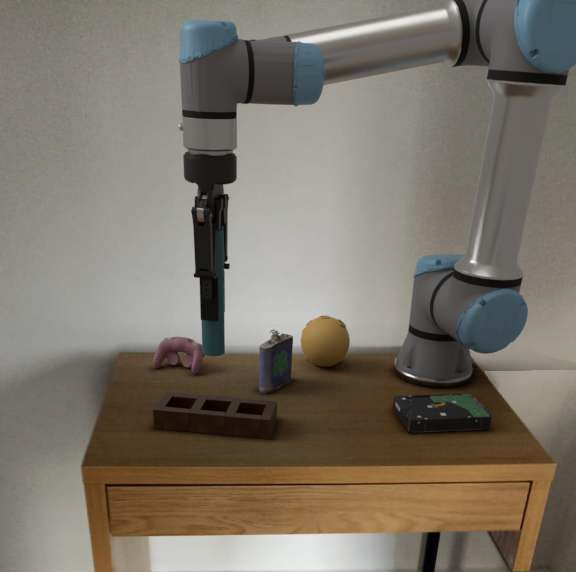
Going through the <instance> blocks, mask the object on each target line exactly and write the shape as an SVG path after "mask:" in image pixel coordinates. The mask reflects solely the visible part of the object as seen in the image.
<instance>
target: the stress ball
mask: <svg viewBox="0 0 576 572" xmlns="http://www.w3.org/2000/svg"><path fill="white" fill-rule="evenodd" d="M350 339H351V338H350V334H349V331H348V329H347V325H346V324H345V323H344V321H342V320H341V319H339V318H338V319H337V318H335V317H334V316H333V317H332V316H329V315H321V316H320V315H319V316H318V317H316V318H313V319H310V321H308V322H307V323H306V325H305V327H304V328H303V329H302V332H301V336H300V348H301V351H302V354H303V355H304V357H305V358H306V359H307V360H308V361H309V362H310V363H312V364H313V365H315V366H318V367H323V368H324V367H325V368H326V367H332V366H334V365H337V364H338V363H340V362H341V361H342V360H343V359H345V357H346V355H347V354H348V351H349V349H350V344H351V341H350Z"/></svg>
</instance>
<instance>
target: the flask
mask: <svg viewBox="0 0 576 572" xmlns="http://www.w3.org/2000/svg"><path fill="white" fill-rule="evenodd" d="M269 334H271V336H270V339H268V340H266V341H264V342H263V343H261V344H260V345H259V374H258V375H259V376H258V391H259V392H258V393H260V394H265V395H266V394H268V393H273V392H274V391H275V390H278V389H280V388H281V387H282V386H284V385H285V384H288V383H291V382H292V365H293V348H294V347H293V345H294V336H293V335H292V334H288V333H281V334H280V332H279V331H278V330H276V329H271V330H270V331H269Z"/></svg>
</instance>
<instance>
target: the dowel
mask: <svg viewBox="0 0 576 572" xmlns="http://www.w3.org/2000/svg"><path fill="white" fill-rule="evenodd" d="M224 270H225V269H224V231H223V229H222V228H220V229H219V230H218V231H217V264H216V273H217V276H216V277H218V291H219V320H218V321H208V320H201V319H200V322H201V345H202V353H203V354H204V355H205V356H208V357H220V356H223V355H224V354H226V348H225V347H226V346H225V345H226V344H225V343H226V342H225V341H226V339H225V338H226V337H225V336H226V335H225V333H226V332H225V328H226V327H225V312H224Z"/></svg>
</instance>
